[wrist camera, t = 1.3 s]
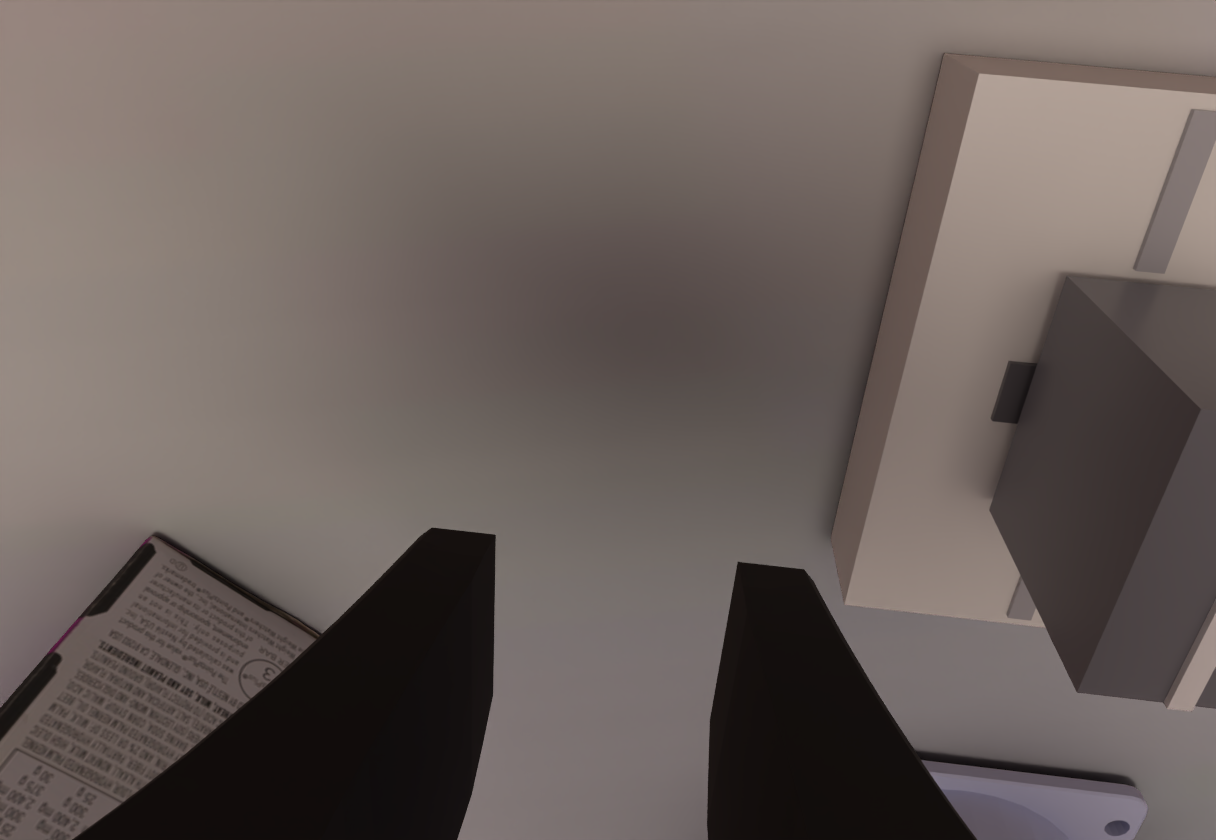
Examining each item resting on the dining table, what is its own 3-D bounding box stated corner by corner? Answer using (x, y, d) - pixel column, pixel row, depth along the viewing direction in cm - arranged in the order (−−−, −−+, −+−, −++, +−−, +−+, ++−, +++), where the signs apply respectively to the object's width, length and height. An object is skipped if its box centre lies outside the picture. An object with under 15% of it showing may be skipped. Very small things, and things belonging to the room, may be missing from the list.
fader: (1140, 526, 15) (1279, 721, 11) (989, 510, 15) (1079, 698, 11) (1241, 293, 13) (1449, 438, 9) (1066, 275, 13) (1206, 413, 9)
